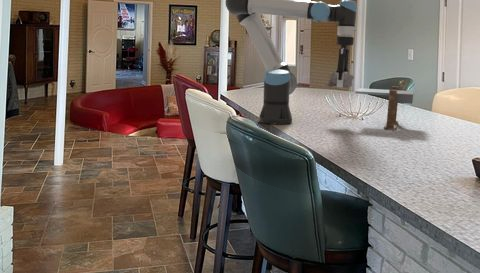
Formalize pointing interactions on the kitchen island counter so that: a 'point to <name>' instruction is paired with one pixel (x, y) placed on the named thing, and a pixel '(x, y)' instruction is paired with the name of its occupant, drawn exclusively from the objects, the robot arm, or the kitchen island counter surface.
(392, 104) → the frame
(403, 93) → the trapdoor
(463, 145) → the kitchen island counter surface
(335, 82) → the stone
